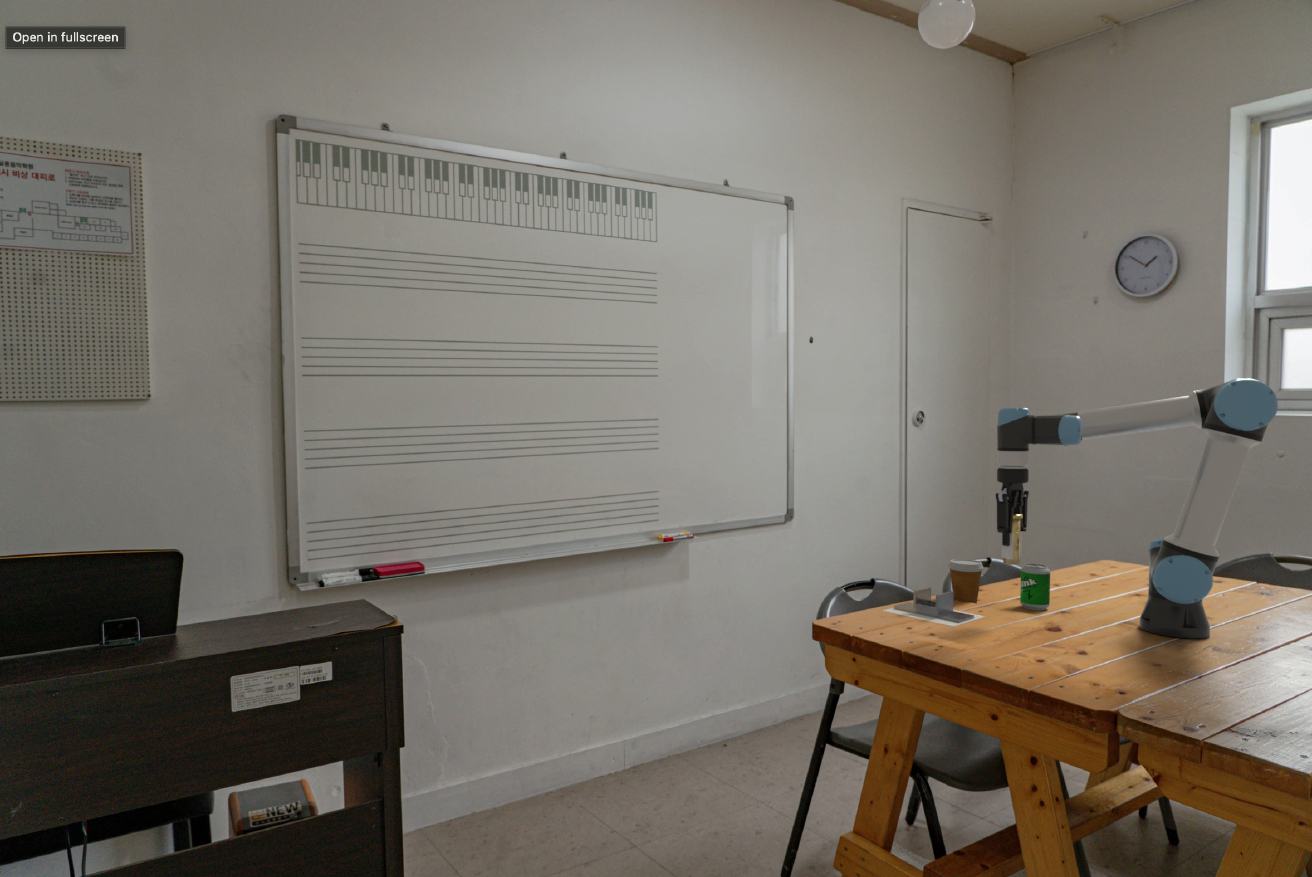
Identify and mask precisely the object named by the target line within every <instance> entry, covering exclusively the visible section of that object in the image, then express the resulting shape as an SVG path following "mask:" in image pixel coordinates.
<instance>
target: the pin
mask: <svg viewBox="0 0 1312 877" xmlns="http://www.w3.org/2000/svg"><path fill="white" fill-rule="evenodd" d="M1021 518H1023V515H1022V514H1014V515H1013V524H1012V533H1013V534H1014V539H1013V559H1007V558H1002V561H1003V563H1002V564H1004V565H1012V566H1013V565H1015V566H1016V565H1020V564H1021V557H1020V519H1021Z"/></svg>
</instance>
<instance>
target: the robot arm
mask: <svg viewBox="0 0 1312 877" xmlns="http://www.w3.org/2000/svg"><path fill="white" fill-rule="evenodd" d="M1278 404H1279V402H1278V398H1277V395H1276V393H1275V392H1274V390H1273V389H1272V388H1271V387H1270V386H1269V385H1267V384H1266V383H1265V382H1263V381H1261V380H1259V379H1256V378H1248V377H1240V378H1234V379H1231V380H1229V381H1226V382H1224V383H1221V384H1218V385H1215V386H1211V387H1207V388H1203V389H1196V390H1192V391H1191V393H1189V395H1184V396H1178V397H1170V398H1164V399H1163V398H1162V399H1158V400H1150V401H1143V402H1142V401H1141V402H1136V403H1131V404H1130V403H1129V404H1123V405H1118V406H1117V405H1116V406H1109V407H1103V408H1097V409H1090V410H1083V411H1076V412H1071V413H1063V414H1054V415H1052V414H1050V415H1033V414H1031V413H1030V409H1029V408H1027V407H1003V408H1000V409H999V410H998V413H997V415H998V416H997V425H996V427H997V429H996V430H997V436H996V438H997V442H996V443H997V444H996V445H997V454H996V459H997V466H999V467H997V469H996V481H997V482H998V483H1002V485H1001V491H1000V492H996V493H995V499H996V501H995V502H996V530H997V533H1001V558H1002V559H1003V558H1007V559H1013V539H1014V534H1013V533H1012V524H1013V515H1014V514H1022V515H1023V518H1021V519H1020V558H1021V557H1023V532H1025V533H1026V532H1027V527H1028V500H1029V496H1030V495H1029V494H1030V492H1029V490H1025V489H1024V484H1027V483H1029V468H1027V467H1029V466H1030V449H1029V447H1030V445H1032V446H1033V445H1040V446H1042V445H1044V446H1064V447H1065V446H1066V447H1067V446H1078V445H1080V444H1081V441H1083V440H1084V441H1086V440H1093V439H1099V438H1100V439H1102V438H1108V437H1115V436H1123V435H1124V436H1125V435H1130V434H1131V435H1132V434H1138V433H1146V432H1155V431H1161V430H1170V429H1178V428H1185V427H1191V426H1192V427H1193V426H1194V427H1195V428H1197V429H1200V430H1201V429H1202V430H1203V432H1204V433H1205V436H1206V441H1205V444H1204V446H1203V450H1202V452H1201V455H1200V458H1199V461H1198V463H1197V466H1196V469H1195V472H1194V474H1193V477H1192V480H1191V483H1190V485H1189V486H1190V487H1189V489H1188V491H1187V494H1186V497H1185V501H1184V502H1183V506H1182V509H1181V511H1180V514H1179V517H1178V519H1177V522H1176V526H1175V528H1174V531H1173V532H1172V534H1170V535H1167V536H1165V537H1163V538H1162V539H1152V540H1151V541H1150V544H1149V548H1148V553H1149V556H1148V558H1149V560H1148V561H1149V562H1148V589H1147V590H1148V593H1147V595H1148V596H1147V600H1146V602H1145V605H1144V608H1143V610H1142V612H1141V615H1140V617H1139V628H1140V629H1142V630H1144V631H1146V632H1149V633H1151V634H1155V635H1160V636H1165V637H1170V638H1171V637H1172V638H1180V639H1195V640H1196V639H1204V638H1209V636H1210V635H1211V626H1210V623H1209V620H1208V616H1207V614H1206V611H1205V608H1204V604H1203V600H1204V599H1205V598H1206V597H1207V596H1208V595H1209V593H1210V592H1211V590H1212V588H1213V585H1214V584H1213V583H1214V578H1213V575H1214V573H1215V569H1216V567H1217V563H1218V562H1219V558H1220V553H1219V551H1218V550H1217V548H1216V544H1217V541H1218V538H1219V535H1220V533H1221V530H1222V527H1223V524H1224V521H1225V519H1226V517H1227V514H1228V511H1229V509H1230V505H1231V503H1232V500H1233V497H1234V495H1235V492H1236V491H1237V487H1238V483H1239V481H1240V478H1241V476H1242V473H1243V471H1244V468H1245V465H1246V462H1247V459H1248V456H1249V454H1250V451H1251V449H1252V448H1254V447H1256V446H1258V445H1260V444H1262V441H1263V439H1264V436H1265V434H1266V431H1267V428H1268V425H1269V424H1270V423H1271V422H1272V421H1273V420H1274V418H1275V416H1276V415H1277V412H1278V407H1279V405H1278Z"/></svg>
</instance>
